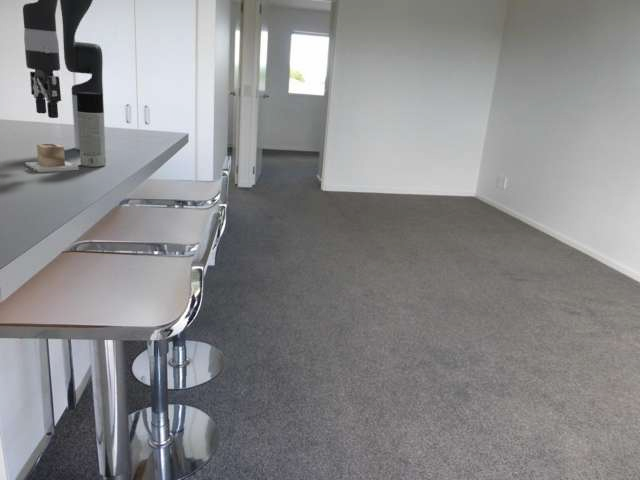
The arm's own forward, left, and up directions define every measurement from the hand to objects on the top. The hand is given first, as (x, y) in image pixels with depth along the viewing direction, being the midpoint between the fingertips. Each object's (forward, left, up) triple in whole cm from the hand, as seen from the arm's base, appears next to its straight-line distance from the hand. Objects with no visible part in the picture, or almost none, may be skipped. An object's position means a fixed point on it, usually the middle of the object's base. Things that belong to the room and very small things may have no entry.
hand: (47, 115), depth 131 cm
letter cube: (0, 0, -13) cm, 13 cm away
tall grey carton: (0, +11, -14) cm, 18 cm away
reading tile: (0, 0, -14) cm, 14 cm away
